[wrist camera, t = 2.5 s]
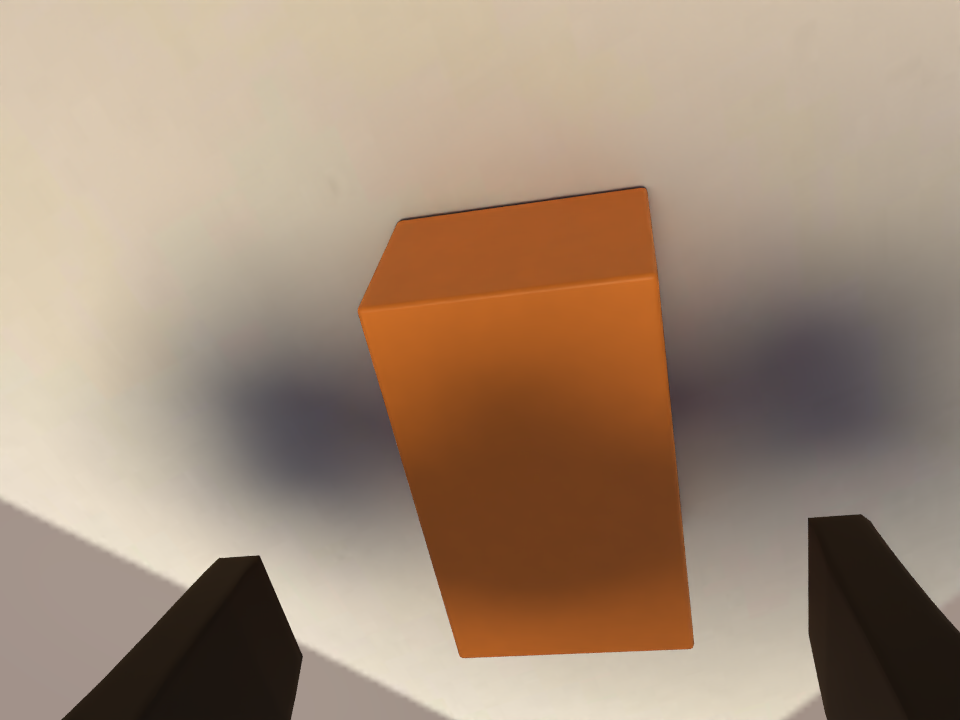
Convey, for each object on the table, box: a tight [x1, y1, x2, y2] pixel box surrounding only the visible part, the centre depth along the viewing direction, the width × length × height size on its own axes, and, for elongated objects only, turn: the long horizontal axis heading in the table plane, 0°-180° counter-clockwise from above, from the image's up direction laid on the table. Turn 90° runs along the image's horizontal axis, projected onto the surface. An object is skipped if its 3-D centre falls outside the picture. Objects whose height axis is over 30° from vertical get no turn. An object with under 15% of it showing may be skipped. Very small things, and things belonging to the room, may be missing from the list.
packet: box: [358, 188, 694, 658], centre depth 15 cm, size 4×7×3 cm, turn 11°
